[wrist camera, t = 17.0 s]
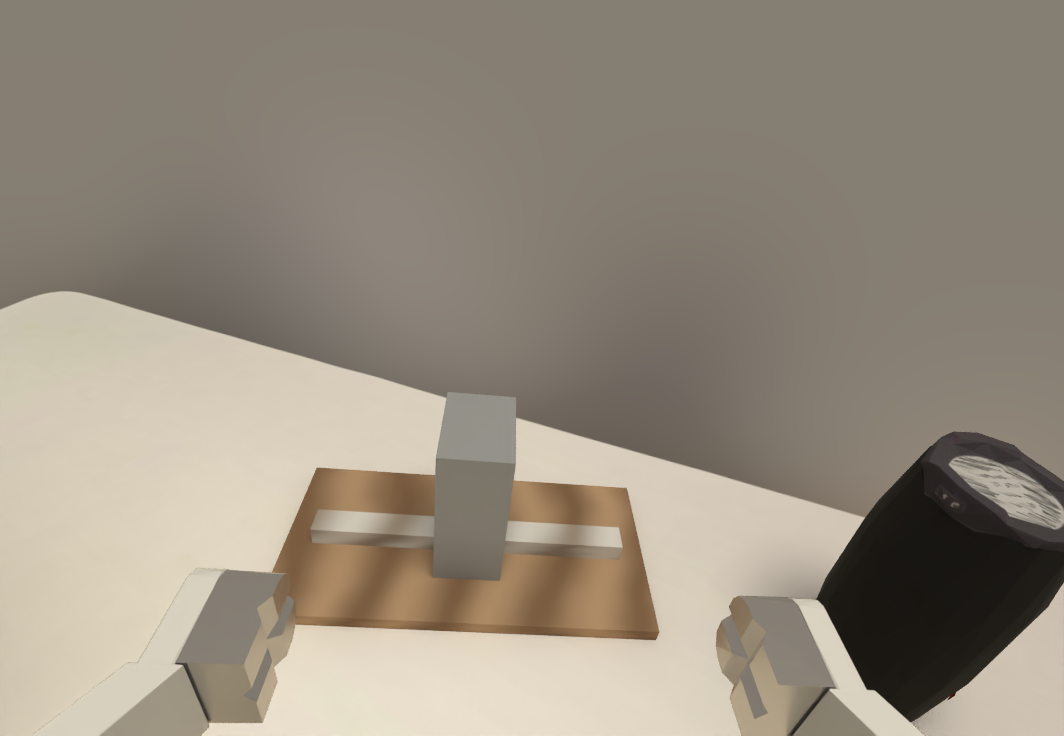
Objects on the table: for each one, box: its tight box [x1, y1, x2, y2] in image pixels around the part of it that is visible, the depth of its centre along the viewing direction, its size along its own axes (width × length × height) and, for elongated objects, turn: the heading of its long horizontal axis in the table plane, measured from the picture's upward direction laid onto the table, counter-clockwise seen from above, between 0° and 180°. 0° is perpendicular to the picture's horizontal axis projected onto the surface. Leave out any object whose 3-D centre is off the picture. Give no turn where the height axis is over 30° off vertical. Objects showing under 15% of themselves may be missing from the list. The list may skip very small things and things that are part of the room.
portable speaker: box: [816, 432, 1064, 722], centre depth 34 cm, size 9×9×20 cm
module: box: [433, 392, 516, 581], centre depth 41 cm, size 5×7×12 cm
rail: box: [272, 468, 659, 640], centre depth 44 cm, size 28×14×2 cm, turn 91°
